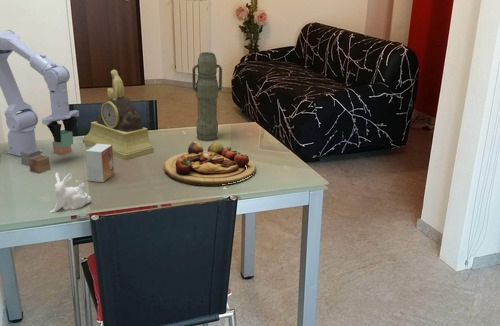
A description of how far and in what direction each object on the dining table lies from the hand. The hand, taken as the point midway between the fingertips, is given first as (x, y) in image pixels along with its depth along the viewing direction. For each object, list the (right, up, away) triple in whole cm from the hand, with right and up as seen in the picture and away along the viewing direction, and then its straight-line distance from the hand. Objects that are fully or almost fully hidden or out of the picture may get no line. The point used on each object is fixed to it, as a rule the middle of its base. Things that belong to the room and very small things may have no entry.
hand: (63, 140), depth 179 cm
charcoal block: (-11, -8, 0) cm, 14 cm away
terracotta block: (-4, -4, +11) cm, 13 cm away
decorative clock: (+14, -2, +18) cm, 23 cm away
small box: (+17, -13, -11) cm, 24 cm away
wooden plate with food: (+52, -11, -1) cm, 53 cm away
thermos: (+48, +2, +33) cm, 58 cm away
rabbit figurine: (+13, -20, -31) cm, 40 cm away
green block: (0, -1, +1) cm, 2 cm away
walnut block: (-5, -11, -6) cm, 14 cm away
